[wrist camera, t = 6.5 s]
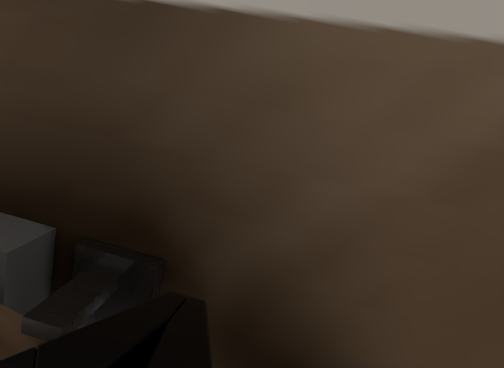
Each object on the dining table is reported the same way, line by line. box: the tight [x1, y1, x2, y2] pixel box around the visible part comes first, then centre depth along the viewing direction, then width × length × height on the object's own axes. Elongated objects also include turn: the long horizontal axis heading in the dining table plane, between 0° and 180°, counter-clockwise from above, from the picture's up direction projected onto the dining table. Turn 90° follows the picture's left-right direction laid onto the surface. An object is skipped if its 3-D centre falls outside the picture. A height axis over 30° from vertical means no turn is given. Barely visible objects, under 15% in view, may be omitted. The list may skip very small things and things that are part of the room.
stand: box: [21, 238, 165, 341], centre depth 20 cm, size 11×5×7 cm, turn 168°
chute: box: [0, 304, 47, 360], centre depth 17 cm, size 12×18×6 cm
